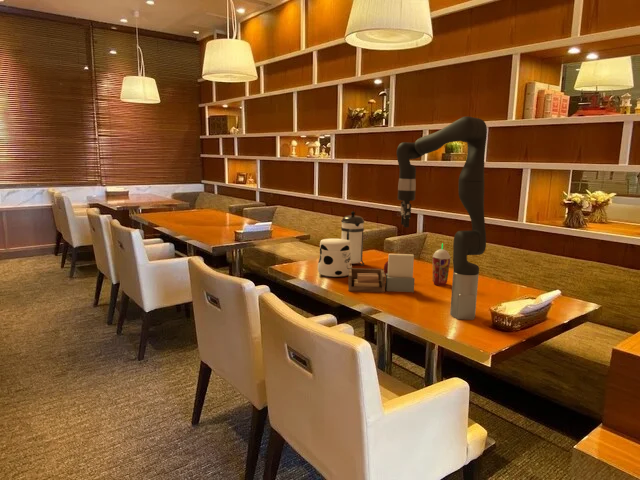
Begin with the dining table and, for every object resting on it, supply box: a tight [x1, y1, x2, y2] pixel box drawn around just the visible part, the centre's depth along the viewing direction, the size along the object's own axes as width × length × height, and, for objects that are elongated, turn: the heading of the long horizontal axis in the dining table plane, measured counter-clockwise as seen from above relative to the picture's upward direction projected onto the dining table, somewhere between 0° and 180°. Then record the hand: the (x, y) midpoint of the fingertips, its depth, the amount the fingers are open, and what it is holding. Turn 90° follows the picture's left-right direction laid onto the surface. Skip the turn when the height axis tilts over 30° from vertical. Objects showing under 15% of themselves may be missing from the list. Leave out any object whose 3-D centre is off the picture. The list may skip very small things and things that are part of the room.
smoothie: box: [432, 242, 452, 287], centre depth 216 cm, size 8×8×20 cm
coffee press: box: [340, 210, 365, 266], centre depth 254 cm, size 17×16×30 cm
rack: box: [348, 267, 386, 293], centre depth 206 cm, size 14×16×8 cm
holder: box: [385, 274, 415, 295], centre depth 205 cm, size 8×12×7 cm, turn 87°
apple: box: [383, 260, 388, 277], centre depth 222 cm, size 10×10×10 cm
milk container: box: [317, 238, 353, 279], centre depth 228 cm, size 17×17×18 cm
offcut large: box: [354, 279, 379, 287], centre depth 204 cm, size 6×11×4 cm, turn 87°
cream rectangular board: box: [387, 253, 415, 278], centre depth 204 cm, size 2×11×16 cm, turn 86°
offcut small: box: [357, 273, 379, 283], centre depth 204 cm, size 5×9×3 cm, turn 91°
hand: (404, 226), depth 200 cm, fingers open, 8 cm apart
